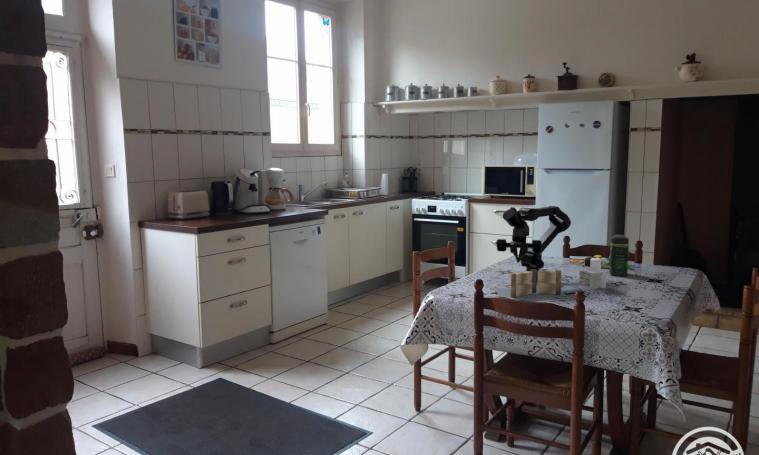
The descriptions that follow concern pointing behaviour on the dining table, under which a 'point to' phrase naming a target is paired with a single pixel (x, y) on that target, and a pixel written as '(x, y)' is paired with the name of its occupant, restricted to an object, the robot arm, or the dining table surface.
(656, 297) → the dining table surface
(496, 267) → the dining table surface
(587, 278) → the container
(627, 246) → the coffee jar
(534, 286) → the hinged fence panel
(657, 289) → the dining table surface
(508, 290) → the card
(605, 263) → the shape sorter
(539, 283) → the fixed fence section
